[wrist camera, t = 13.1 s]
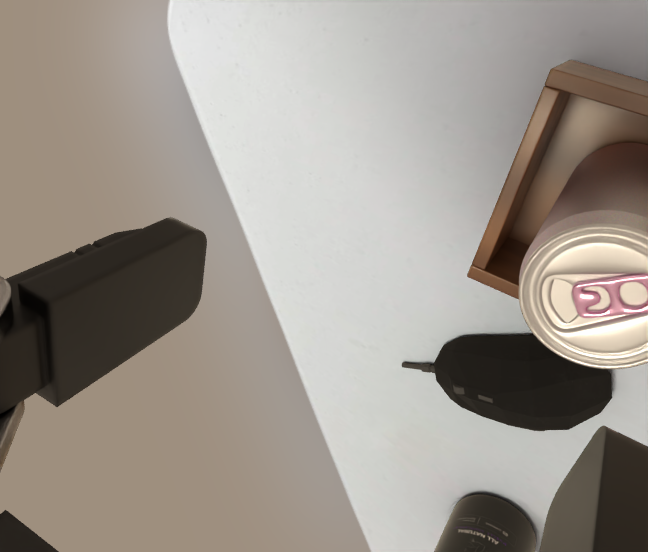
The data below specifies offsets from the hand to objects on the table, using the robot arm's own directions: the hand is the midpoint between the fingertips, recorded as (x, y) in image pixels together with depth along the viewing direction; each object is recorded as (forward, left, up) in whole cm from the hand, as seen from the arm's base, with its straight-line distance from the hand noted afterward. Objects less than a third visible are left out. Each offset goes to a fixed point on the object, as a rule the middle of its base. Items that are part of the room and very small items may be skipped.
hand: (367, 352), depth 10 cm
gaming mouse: (+17, +3, -28) cm, 33 cm away
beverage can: (+2, +4, -27) cm, 27 cm away
